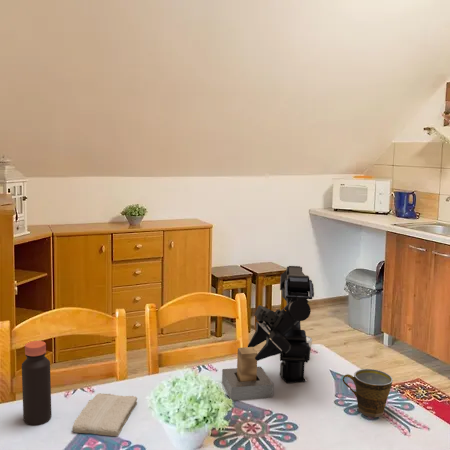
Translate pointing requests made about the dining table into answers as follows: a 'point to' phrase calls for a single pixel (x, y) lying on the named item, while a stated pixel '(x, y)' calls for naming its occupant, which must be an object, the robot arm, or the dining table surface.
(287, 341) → the robot arm
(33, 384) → the bottle
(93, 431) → the washcloth
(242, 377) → the oak peg
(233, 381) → the socket block
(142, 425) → the dining table surface
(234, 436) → the dining table surface
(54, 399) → the dining table surface
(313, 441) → the dining table surface
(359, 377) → the ceramic cup
